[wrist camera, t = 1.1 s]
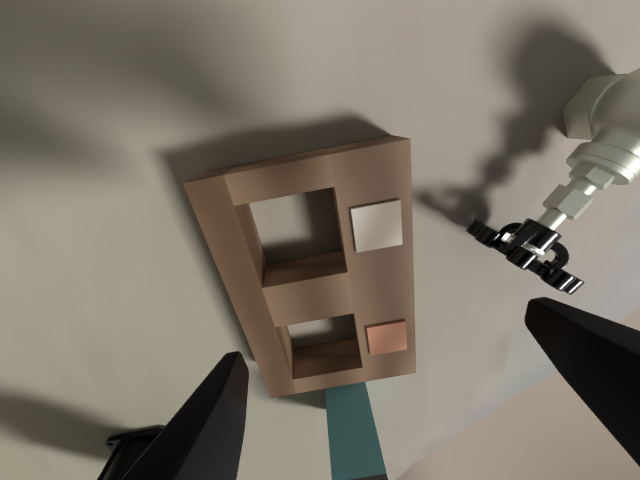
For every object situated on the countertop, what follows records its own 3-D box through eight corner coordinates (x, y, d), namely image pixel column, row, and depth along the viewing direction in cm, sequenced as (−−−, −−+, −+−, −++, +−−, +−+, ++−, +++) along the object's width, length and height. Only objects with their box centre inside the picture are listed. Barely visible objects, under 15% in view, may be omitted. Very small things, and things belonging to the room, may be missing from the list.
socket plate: (274, 366, 24) (270, 400, 21) (202, 172, 16) (180, 184, 13) (403, 343, 24) (417, 374, 21) (392, 135, 16) (411, 139, 13)
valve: (584, 41, 15) (448, 220, 19) (779, -12, 9) (515, 268, 13) (651, 103, 16) (511, 255, 20) (854, 94, 10) (598, 311, 14)
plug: (330, 410, 27) (340, 515, 20) (324, 386, 26) (332, 491, 18) (368, 404, 27) (391, 507, 20) (364, 379, 26) (388, 482, 18)
